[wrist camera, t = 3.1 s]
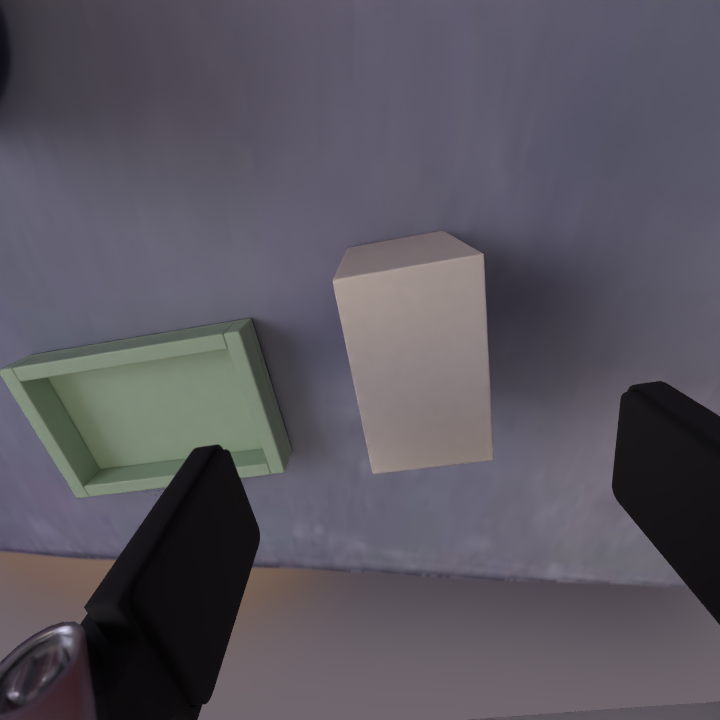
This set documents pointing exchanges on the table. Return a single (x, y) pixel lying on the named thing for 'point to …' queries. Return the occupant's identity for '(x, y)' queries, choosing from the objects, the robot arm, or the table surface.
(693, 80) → the table surface
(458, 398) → the tall beige box
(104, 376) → the green rectangular tray
